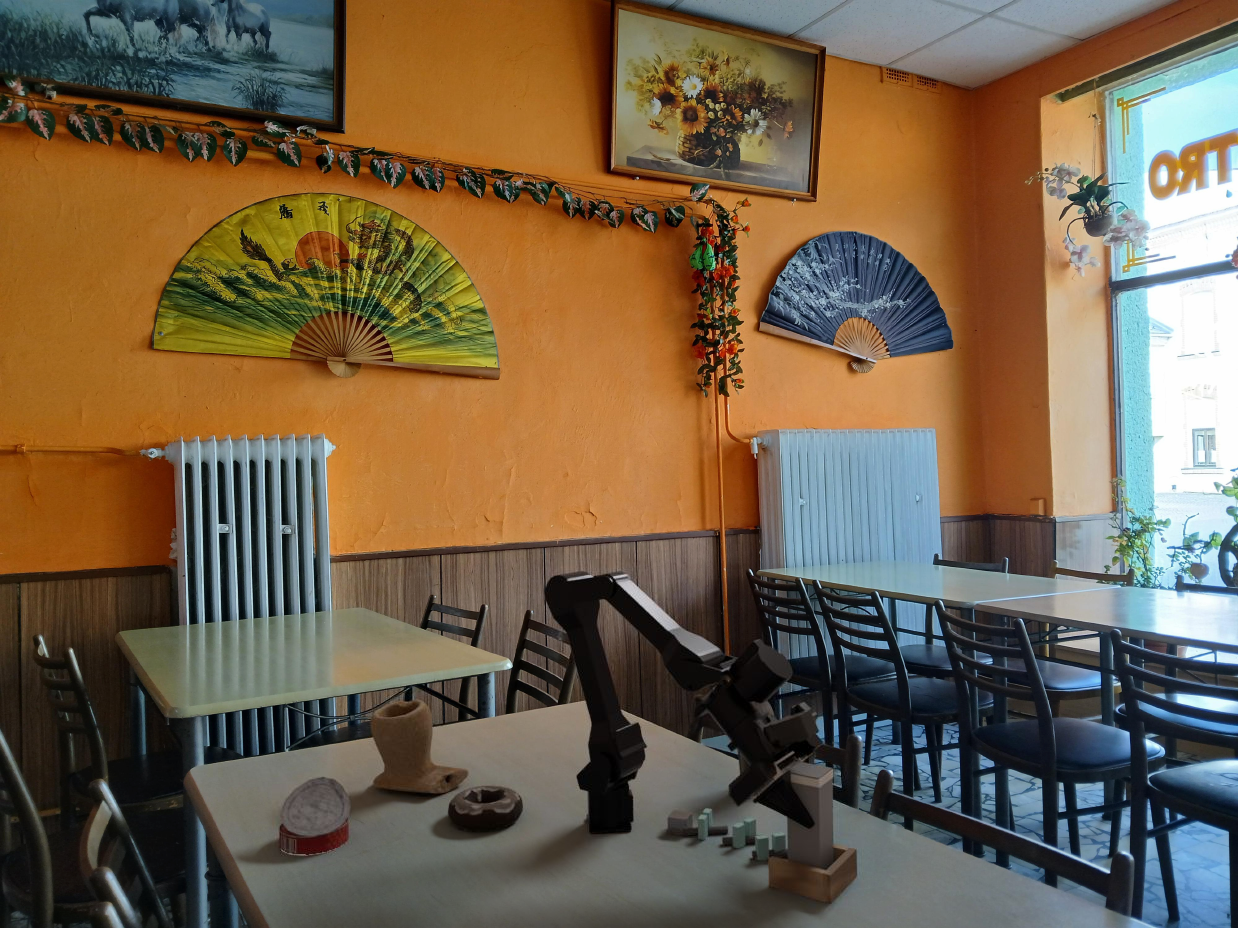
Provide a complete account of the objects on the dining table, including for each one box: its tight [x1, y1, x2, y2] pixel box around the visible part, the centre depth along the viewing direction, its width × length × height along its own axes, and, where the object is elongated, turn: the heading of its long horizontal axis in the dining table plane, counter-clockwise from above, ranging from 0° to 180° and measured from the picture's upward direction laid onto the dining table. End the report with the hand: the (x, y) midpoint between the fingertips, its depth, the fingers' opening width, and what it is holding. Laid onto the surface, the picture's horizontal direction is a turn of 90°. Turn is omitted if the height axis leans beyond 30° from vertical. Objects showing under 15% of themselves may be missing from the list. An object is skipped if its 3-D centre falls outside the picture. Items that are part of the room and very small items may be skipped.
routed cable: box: [682, 825, 788, 859], centre depth 129 cm, size 13×10×1 cm
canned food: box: [278, 776, 352, 855], centre depth 133 cm, size 11×10×10 cm
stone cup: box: [370, 699, 470, 794], centre depth 154 cm, size 15×12×15 cm
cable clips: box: [697, 807, 787, 861], centre depth 129 cm, size 6×14×3 cm, turn 46°
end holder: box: [768, 843, 858, 904], centre depth 117 cm, size 8×9×4 cm
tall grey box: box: [786, 762, 834, 870], centre depth 117 cm, size 5×5×13 cm
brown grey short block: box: [667, 809, 694, 837], centre depth 134 cm, size 3×3×2 cm
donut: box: [447, 784, 524, 832], centre depth 140 cm, size 12×12×4 cm
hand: (819, 820), depth 117 cm, fingers closed on tall grey box, 4 cm apart
